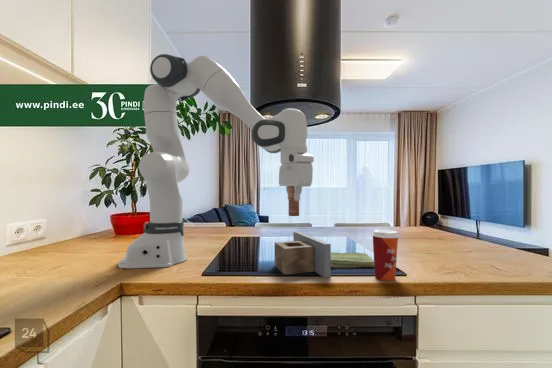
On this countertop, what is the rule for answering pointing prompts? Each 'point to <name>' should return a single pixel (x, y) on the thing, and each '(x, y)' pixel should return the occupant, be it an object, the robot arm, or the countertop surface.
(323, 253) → the wall
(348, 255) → the washcloth
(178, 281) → the countertop surface
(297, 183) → the robot arm
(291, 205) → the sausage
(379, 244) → the paper cup
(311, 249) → the block
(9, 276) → the countertop surface
